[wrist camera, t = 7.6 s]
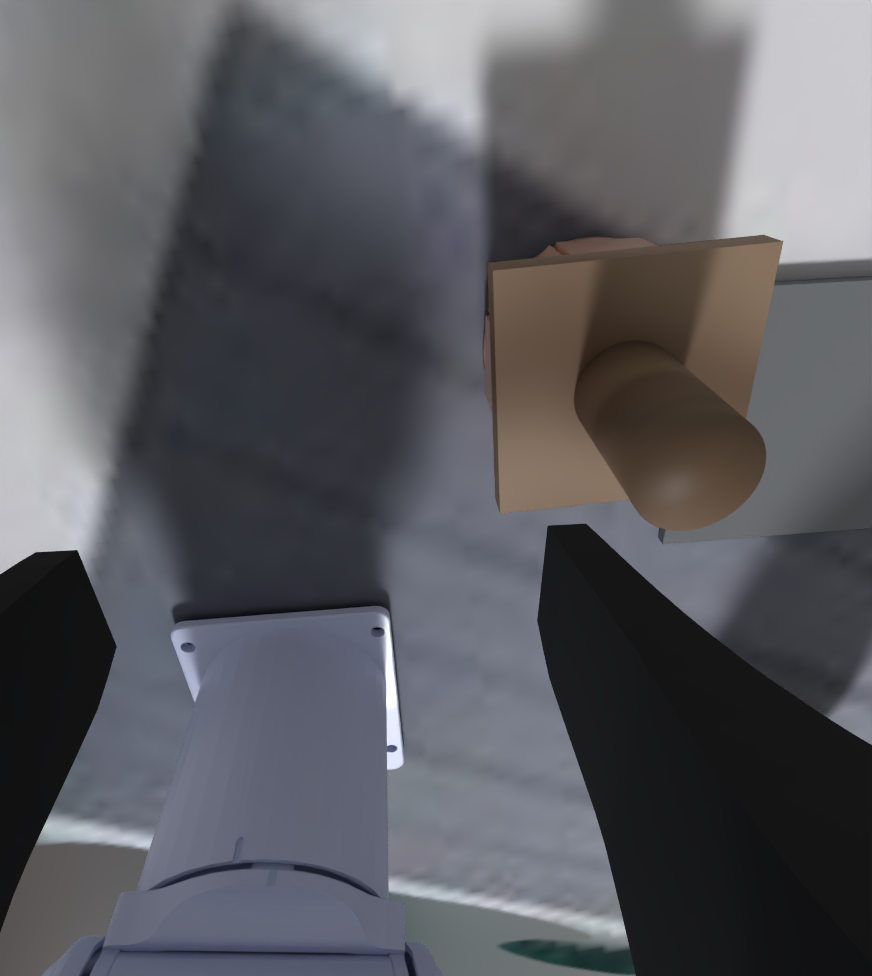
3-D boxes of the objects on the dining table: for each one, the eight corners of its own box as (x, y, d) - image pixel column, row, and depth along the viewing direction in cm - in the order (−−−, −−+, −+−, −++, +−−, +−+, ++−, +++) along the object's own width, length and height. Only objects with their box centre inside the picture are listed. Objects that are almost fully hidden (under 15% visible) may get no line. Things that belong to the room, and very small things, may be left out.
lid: (717, 473, 18) (820, 584, 13) (495, 497, 17) (530, 617, 13) (763, 235, 14) (919, 286, 10) (487, 262, 14) (531, 326, 10)
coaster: (895, 519, 23) (903, 525, 23) (658, 537, 22) (662, 544, 22) (1005, 268, 18) (1017, 271, 18) (707, 285, 18) (713, 289, 17)
